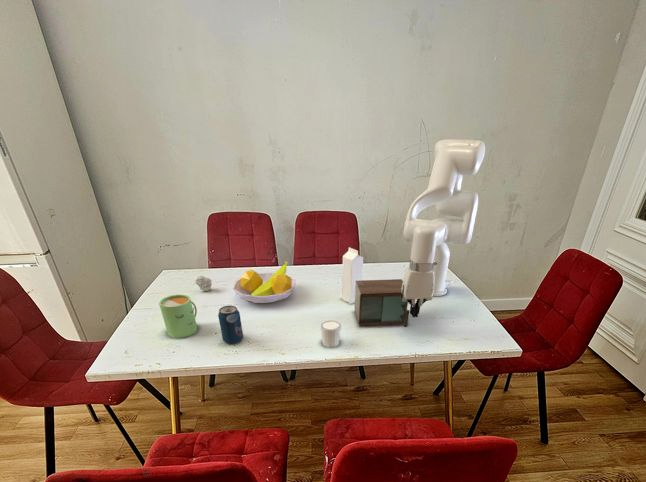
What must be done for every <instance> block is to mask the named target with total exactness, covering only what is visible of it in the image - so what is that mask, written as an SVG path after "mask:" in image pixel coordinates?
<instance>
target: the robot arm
mask: <svg viewBox="0 0 646 482" xmlns="http://www.w3.org/2000/svg"><path fill="white" fill-rule="evenodd" d="M433 153H434V155H433V156H434V162H433V165H432V170H431V174H430V178H429V181H428V186H427V189H426V190H424V191H423V192H422V193H421V194H419V195H418V197H416V199H414V201H413V202H412V203H411V205H410V207H409V209H408V211H407V213H406V219H405V222H404V225H403V232H402V233H403V235H402V236H403V238H404V240H405V241H406V242H409V243H411V250H410V259H409V267H406V269H405V272H404V274H403V279H402V281H403V283H402V289H401V293H402V297H401V300H402V301H404V302H408V305H410V307H409V308H410V309H409V315H411V317H412V318H418V317H419V314H420V310H421V307H422V306H423V305H424V303H426V302H429V301H432V300H433V297H441V296H444V295H446V294H447V293H448V289H447V286H451V285H453V284H454V282H453V280H452V279H451V280H447V273H448V268H449V263H450V262H449V261H450V256H451V251H450V249H449V246H448V244H450V245H459V246H464V245H468V244H469V243H470V242H471V240H472V237H473V232H474V227H475V224H476V223H475V222H476V217H477V213H478V208H479V195H478V193H477V192H476V191H473V190H464V189H462V183H463V178H464V176H475V175H476V174H477V173H478V171H479V169H480V167H481V165H482V163H483V161H484V158H485V154H486V144H485V142H484V141H482V140H479V139H460V138H459V139H457V138H454V139H453V138H452V139H451V138H450V139H441V140H439V141H437V142H436V143H435V145H434V151H433ZM434 205H435V211H436V213H437V214H439V215H442V216H450V217H459V218H462V219H455V218H448V217H436V218H434V219H432V220H431V219H430V220H429V219H420V218H417V217H418V215H419V214H420V213H421V211H422V212H423V210H424V209H425V210H426V208H429V207H431V206H434Z"/></svg>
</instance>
